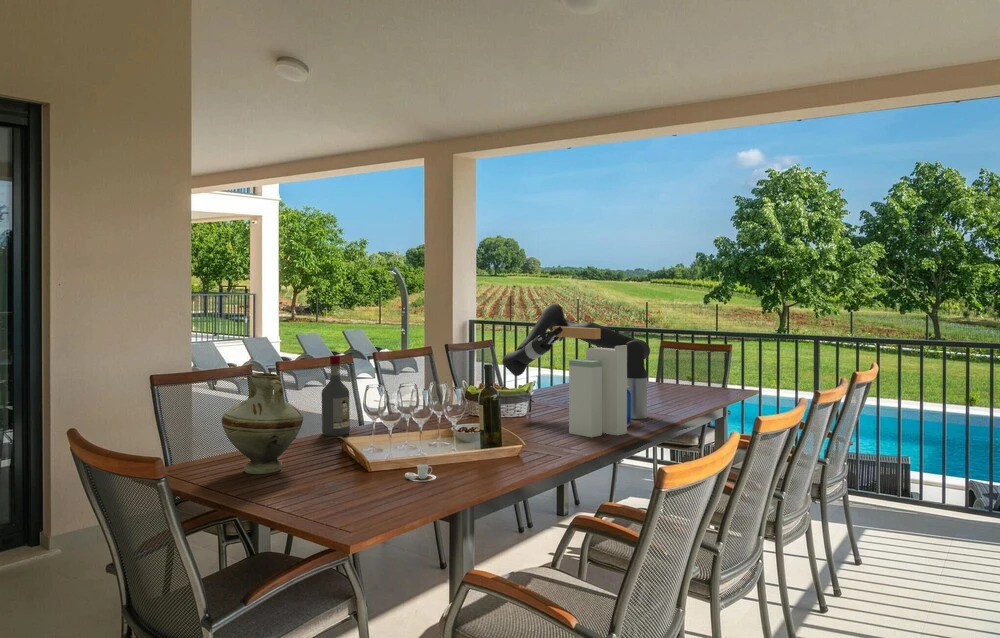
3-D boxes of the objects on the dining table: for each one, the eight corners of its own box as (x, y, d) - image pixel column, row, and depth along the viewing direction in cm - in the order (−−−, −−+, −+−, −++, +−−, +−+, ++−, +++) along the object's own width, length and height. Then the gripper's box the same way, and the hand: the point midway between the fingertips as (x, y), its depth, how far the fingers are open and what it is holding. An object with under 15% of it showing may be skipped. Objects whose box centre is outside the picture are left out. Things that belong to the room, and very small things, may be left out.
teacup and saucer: (401, 481, 210) (401, 467, 209) (414, 474, 217) (414, 461, 217) (428, 484, 206) (428, 469, 206) (441, 477, 214) (440, 463, 214)
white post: (586, 430, 282) (586, 344, 281) (595, 428, 287) (595, 343, 285) (617, 435, 272) (617, 346, 270) (626, 433, 276) (626, 345, 274)
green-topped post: (569, 433, 276) (569, 360, 275) (579, 431, 280) (579, 359, 279) (591, 437, 268) (591, 362, 267) (601, 435, 272) (601, 361, 271)
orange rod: (552, 336, 295) (552, 326, 295) (558, 336, 297) (558, 326, 297) (594, 339, 279) (594, 328, 279) (600, 338, 282) (600, 328, 281)
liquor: (318, 434, 276) (317, 356, 275) (334, 430, 284) (333, 354, 283) (337, 436, 272) (336, 357, 271) (353, 432, 280) (352, 355, 279)
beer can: (630, 424, 295) (630, 384, 294) (631, 427, 287) (631, 387, 286) (609, 423, 296) (609, 384, 295) (610, 427, 287) (610, 387, 287)
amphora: (289, 482, 210) (299, 379, 211) (205, 476, 208) (215, 373, 209) (304, 467, 233) (313, 374, 234) (229, 461, 232) (238, 368, 232)
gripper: (522, 340, 300) (549, 320, 289) (546, 338, 310) (572, 319, 299) (529, 356, 298) (556, 337, 286) (552, 354, 307) (579, 335, 296)
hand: (564, 328), depth 293 cm, fingers closed on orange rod, 3 cm apart
